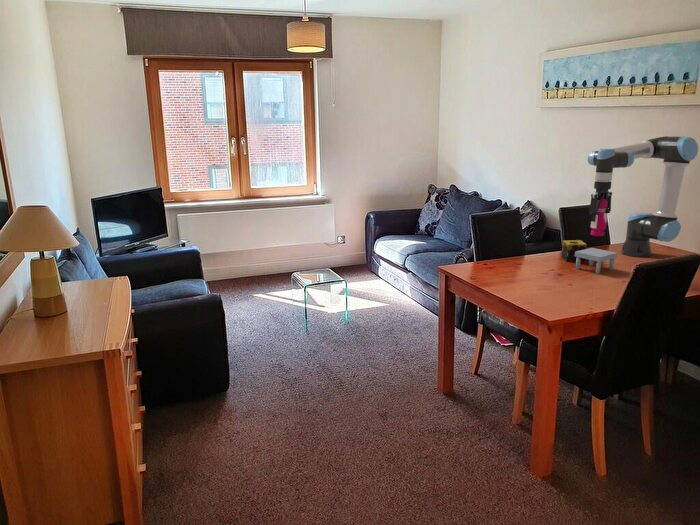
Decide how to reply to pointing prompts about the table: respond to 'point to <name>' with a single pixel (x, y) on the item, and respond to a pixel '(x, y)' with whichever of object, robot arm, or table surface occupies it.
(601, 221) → the pepper mill
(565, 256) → the yellow and black cube
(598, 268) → the stool
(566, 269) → the table surface
